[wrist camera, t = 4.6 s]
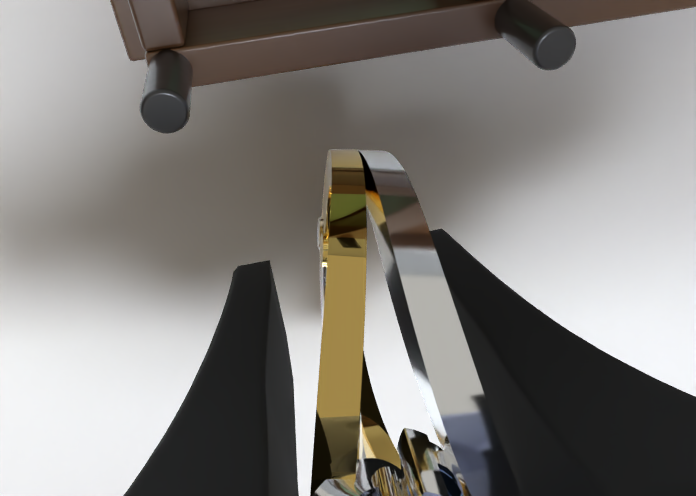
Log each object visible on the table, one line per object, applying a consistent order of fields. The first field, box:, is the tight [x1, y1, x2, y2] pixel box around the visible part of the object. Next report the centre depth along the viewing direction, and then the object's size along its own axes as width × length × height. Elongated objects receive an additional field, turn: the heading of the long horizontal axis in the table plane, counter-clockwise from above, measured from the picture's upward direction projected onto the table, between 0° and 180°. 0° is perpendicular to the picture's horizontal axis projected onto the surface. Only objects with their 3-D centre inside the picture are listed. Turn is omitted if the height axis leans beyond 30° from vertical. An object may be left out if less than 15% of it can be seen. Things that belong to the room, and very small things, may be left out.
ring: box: [310, 149, 522, 496], centre depth 10 cm, size 7×3×8 cm, turn 176°
